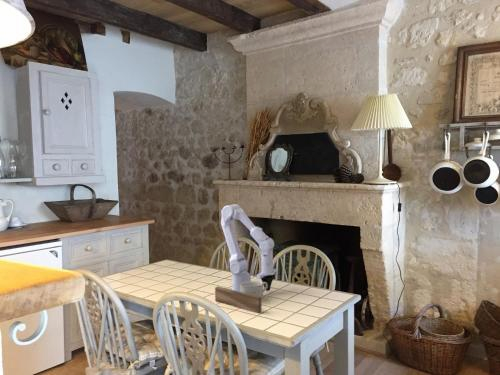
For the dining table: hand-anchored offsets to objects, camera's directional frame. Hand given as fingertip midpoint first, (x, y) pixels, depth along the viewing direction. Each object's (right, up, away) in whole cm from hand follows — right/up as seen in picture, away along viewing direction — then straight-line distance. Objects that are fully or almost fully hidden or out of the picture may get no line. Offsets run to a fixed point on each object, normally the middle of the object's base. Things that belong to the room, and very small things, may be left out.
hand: (267, 290), depth 195 cm
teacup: (-6, -3, -7) cm, 10 cm away
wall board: (-14, -3, -17) cm, 22 cm away
